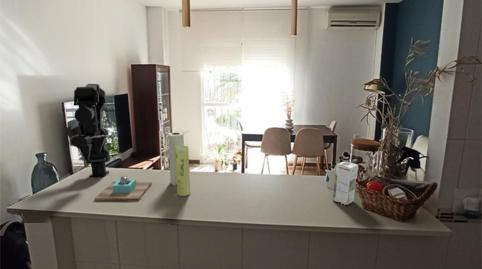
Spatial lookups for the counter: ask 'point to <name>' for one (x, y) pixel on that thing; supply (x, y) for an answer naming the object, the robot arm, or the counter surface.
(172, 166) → the paper towel roll
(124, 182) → the post
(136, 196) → the base plate
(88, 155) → the robot arm
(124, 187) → the ring
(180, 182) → the tube
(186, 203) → the counter surface
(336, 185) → the syrup box
